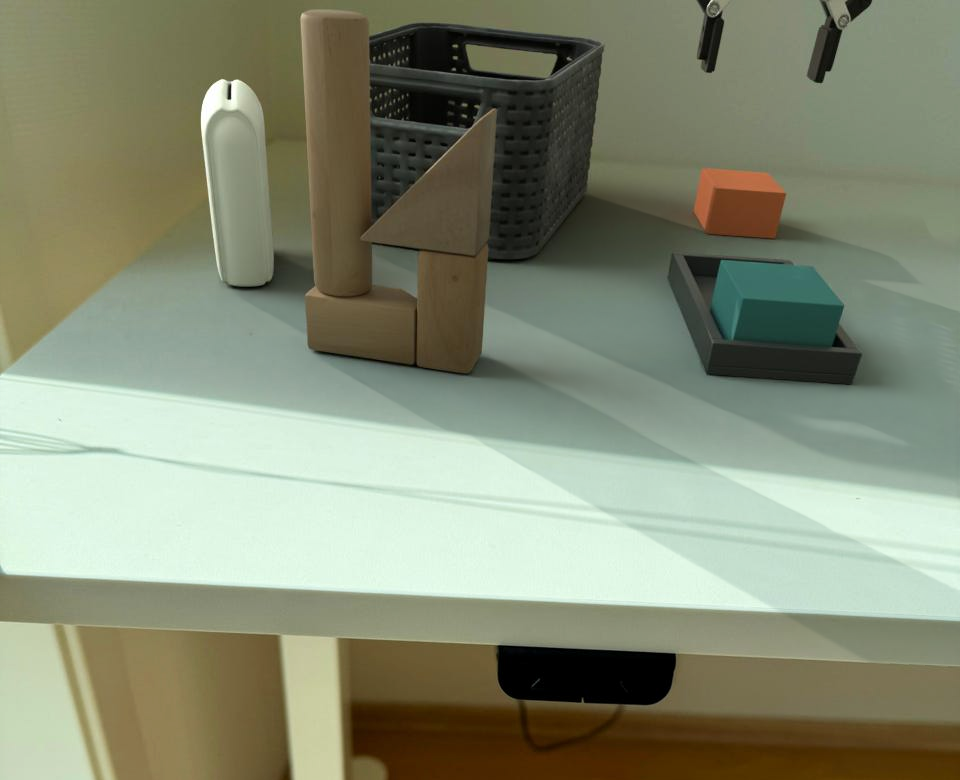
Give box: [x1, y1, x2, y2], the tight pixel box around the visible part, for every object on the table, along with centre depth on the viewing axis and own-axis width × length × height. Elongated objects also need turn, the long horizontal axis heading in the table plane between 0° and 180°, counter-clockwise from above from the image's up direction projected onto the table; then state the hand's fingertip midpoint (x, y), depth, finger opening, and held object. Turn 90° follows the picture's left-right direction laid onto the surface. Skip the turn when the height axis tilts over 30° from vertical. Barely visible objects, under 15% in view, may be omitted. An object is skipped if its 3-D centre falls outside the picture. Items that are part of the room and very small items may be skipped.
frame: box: [666, 251, 863, 385], centre depth 67 cm, size 20×10×2 cm, turn 178°
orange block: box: [693, 167, 787, 240], centre depth 88 cm, size 6×8×4 cm
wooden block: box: [300, 8, 497, 375], centre depth 54 cm, size 4×11×18 cm, turn 77°
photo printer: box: [200, 78, 275, 288], centre depth 67 cm, size 10×4×12 cm, turn 11°
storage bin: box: [369, 22, 606, 261], centre depth 83 cm, size 29×19×13 cm
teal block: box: [710, 260, 845, 347], centre depth 62 cm, size 6×8×4 cm
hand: (760, 75), depth 81 cm, fingers open, 9 cm apart
